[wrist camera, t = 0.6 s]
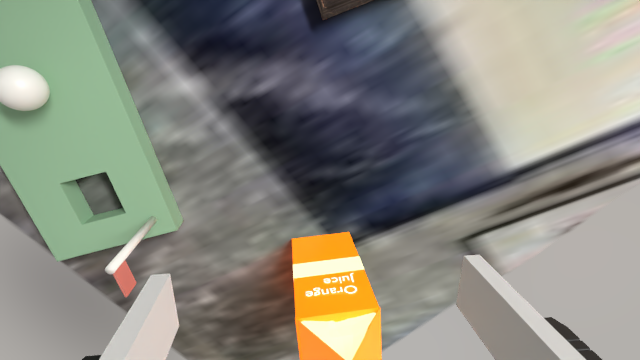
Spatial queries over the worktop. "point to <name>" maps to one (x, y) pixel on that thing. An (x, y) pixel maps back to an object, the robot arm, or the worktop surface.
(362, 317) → the orange juice
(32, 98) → the ball
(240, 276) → the worktop surface
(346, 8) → the hardcover book
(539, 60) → the worktop surface
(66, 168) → the putting deck
